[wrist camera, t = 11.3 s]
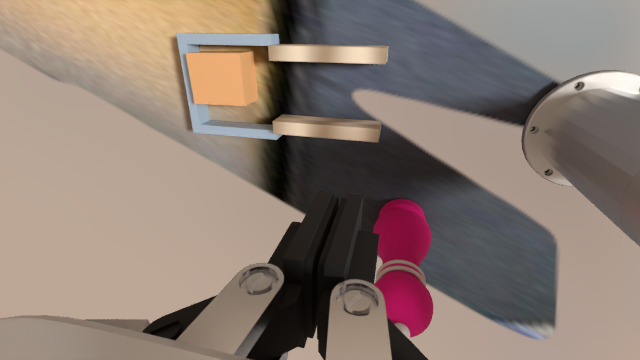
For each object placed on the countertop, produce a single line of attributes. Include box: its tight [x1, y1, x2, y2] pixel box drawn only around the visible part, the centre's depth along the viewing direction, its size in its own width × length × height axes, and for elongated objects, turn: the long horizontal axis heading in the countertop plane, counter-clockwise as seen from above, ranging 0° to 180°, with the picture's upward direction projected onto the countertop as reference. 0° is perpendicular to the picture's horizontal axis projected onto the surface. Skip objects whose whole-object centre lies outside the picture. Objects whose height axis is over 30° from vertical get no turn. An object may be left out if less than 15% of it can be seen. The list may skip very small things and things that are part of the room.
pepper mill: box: [373, 199, 433, 339], centre depth 35 cm, size 7×7×20 cm
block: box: [186, 51, 258, 106], centre depth 39 cm, size 7×6×4 cm
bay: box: [176, 33, 282, 140], centre depth 40 cm, size 12×12×2 cm
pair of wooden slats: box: [268, 44, 388, 142], centre depth 37 cm, size 13×10×4 cm
